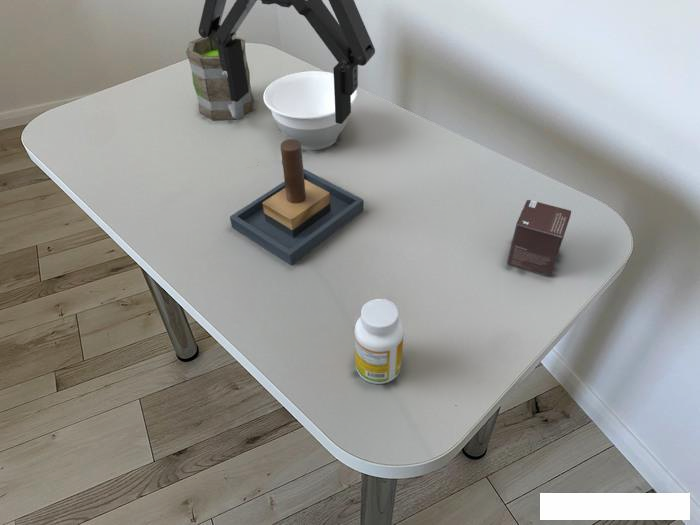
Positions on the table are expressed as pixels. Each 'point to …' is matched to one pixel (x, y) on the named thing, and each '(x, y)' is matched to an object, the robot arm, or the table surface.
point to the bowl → (306, 108)
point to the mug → (216, 82)
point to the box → (538, 237)
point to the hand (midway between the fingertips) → (290, 106)
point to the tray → (293, 249)
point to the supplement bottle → (378, 342)
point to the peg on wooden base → (295, 195)
